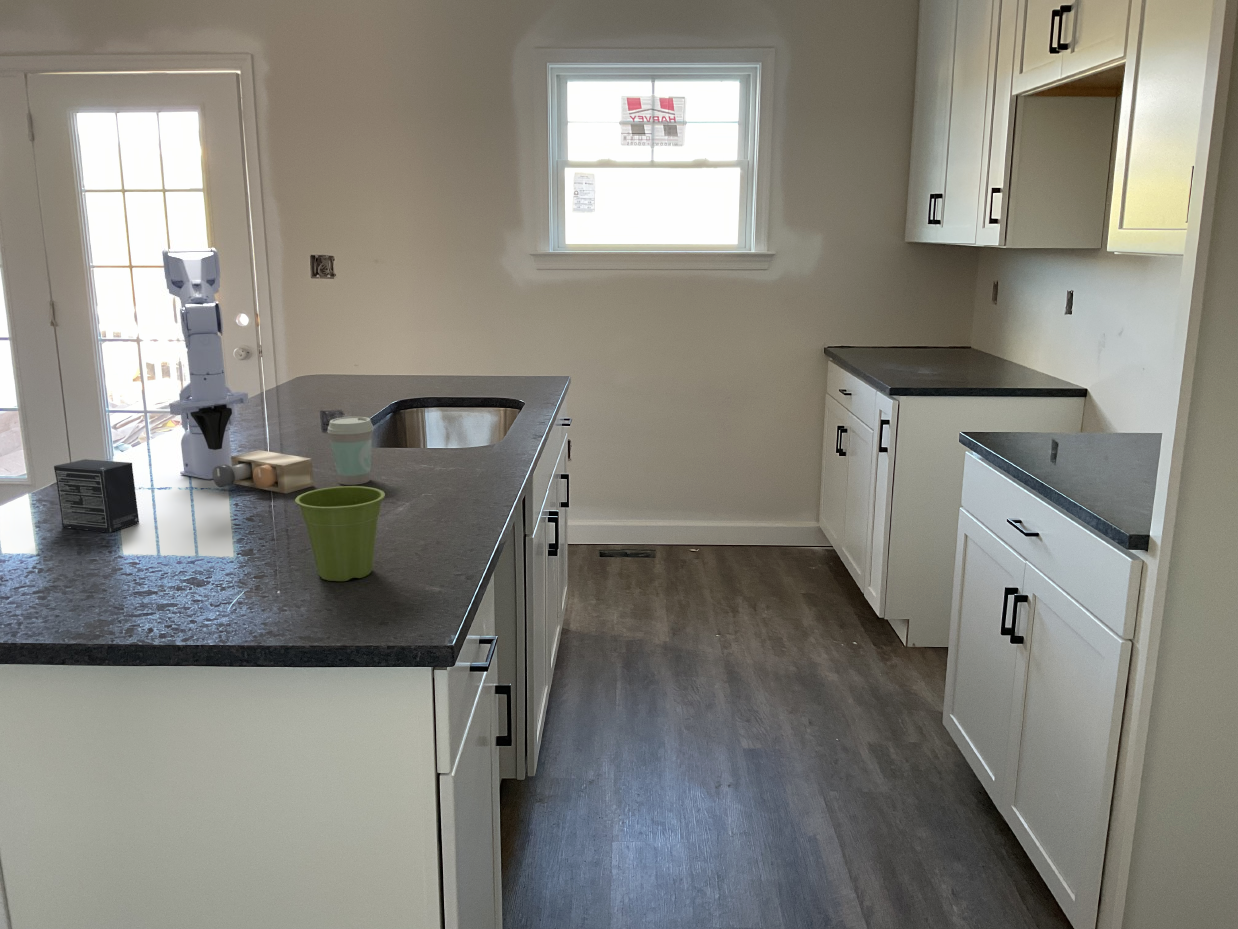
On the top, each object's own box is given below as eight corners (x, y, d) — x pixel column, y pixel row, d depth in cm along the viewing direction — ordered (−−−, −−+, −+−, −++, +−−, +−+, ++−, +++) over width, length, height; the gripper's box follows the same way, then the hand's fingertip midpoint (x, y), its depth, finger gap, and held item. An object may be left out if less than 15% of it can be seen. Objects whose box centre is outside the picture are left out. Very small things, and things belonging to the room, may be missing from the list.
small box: (142, 522, 161) (134, 461, 158) (110, 534, 155) (102, 470, 152) (93, 517, 164) (85, 457, 162) (60, 528, 158) (51, 465, 156)
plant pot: (389, 584, 131) (384, 504, 128) (297, 591, 128) (290, 510, 126) (390, 557, 142) (385, 482, 140) (306, 563, 140) (299, 487, 137)
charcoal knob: (226, 489, 178) (224, 467, 177) (212, 486, 180) (210, 465, 179) (258, 481, 183) (256, 460, 183) (244, 478, 186) (242, 458, 185)
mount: (233, 483, 186) (230, 456, 185) (261, 476, 191) (259, 450, 190) (285, 493, 178) (283, 465, 177) (313, 485, 183) (311, 458, 182)
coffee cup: (365, 487, 182) (360, 424, 179) (323, 485, 184) (318, 423, 181) (384, 476, 190) (380, 416, 187) (344, 475, 192) (340, 415, 189)
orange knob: (267, 489, 177) (265, 468, 176) (253, 486, 179) (251, 465, 178) (298, 481, 183) (296, 460, 182) (284, 479, 185) (282, 458, 184)
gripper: (184, 379, 161) (193, 459, 164) (256, 369, 173) (263, 443, 177) (158, 376, 165) (167, 454, 168) (230, 366, 177) (238, 439, 180)
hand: (215, 448), depth 173 cm, fingers closed
